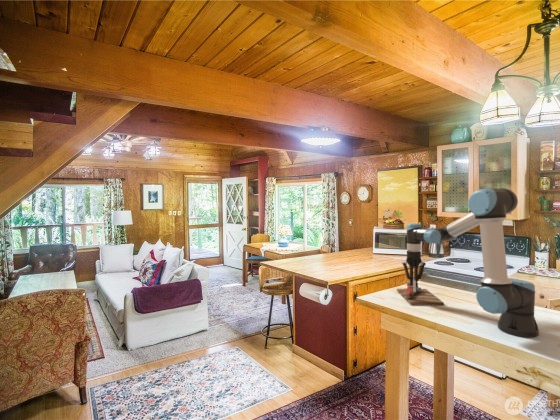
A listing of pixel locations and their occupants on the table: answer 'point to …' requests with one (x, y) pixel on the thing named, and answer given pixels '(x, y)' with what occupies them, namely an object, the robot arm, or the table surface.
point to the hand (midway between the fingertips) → (413, 291)
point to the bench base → (421, 297)
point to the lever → (411, 291)
